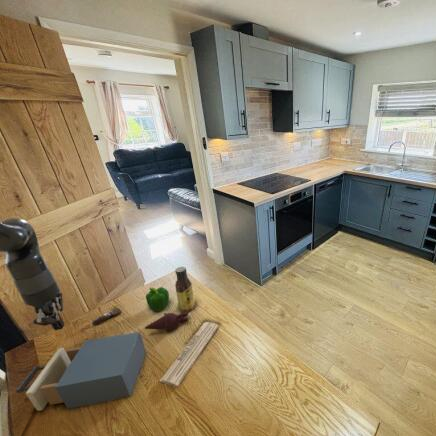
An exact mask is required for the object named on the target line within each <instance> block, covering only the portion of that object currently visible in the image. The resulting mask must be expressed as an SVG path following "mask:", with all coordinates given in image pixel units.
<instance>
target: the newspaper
mask: <svg viewBox="0 0 436 436" xmlns="http://www.w3.org/2000/svg"><path fill="white" fill-rule="evenodd" d="M202 324H203V325H202ZM202 324H201V325H202V326H201V325H200V327H199V328H198V329H199V330H198V329H197V330H196V332H195V333H194V335H193V336H192V337H191V338H190V339H189V341H188V342H187V343H186V345H185V346H184V348H183V349H182V350H181V351H180V353H179V354H178V356H176V358H175V359H174V360H173V362H172V363H171V365H170V366H169V367H168V368H167V370H166V371H165V372H164V373H163V375H162V377H160V379H159V380H158V382H159V383H163V384H166V385H168V386H171V387H175V388H178V387H179V386H180V384H181V383H182V381H183V380H184V378H185V377H186V376H187V373H189V371H190V370H191V368H192V367H193V365H194V364H195V362H196V360H198V358H199V356H200V355H201V353H202V352H203V351H204V349H205V347H206V346H207V345H208V343H209V341H210V340H211V338H212V337H213V335H214V334H215V333H216V331H217V330H218V328H219V324H217V323H214V322H211V321H205V322H203V323H202Z"/></svg>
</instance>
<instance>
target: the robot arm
mask: <svg viewBox="0 0 436 436" xmlns="http://www.w3.org/2000/svg"><path fill="white" fill-rule="evenodd" d="M37 237H38V236H37V233H36V231H35V229H34V227H33V226H32V225H31V224H30V223H29V222H28V221H27V220H25V219H21V218H17V217H10V218H4V219H3V220H1V221H0V253H5V254H6V255H5V256H6V257H5V261H4V265H5V268H6V270H7V272H8V274H9V275H10V277H11V279H12V281H13V284H14V287H15V288H16V290H17V292H18V293H19V295H20V297H21V298H22V300H23V302H24V304H25V305H27V306H31V307H33V308H34V312H35V314H37V318H35V319H34V320H33V324H34V325H38V326H45V327H46V326H48V325H49V326H50V325H51V327H52V329H53V330H54V331H59V330H63V328H64V327H65V325H66V324H65V322H64V320H63V317H62V312H63V310H64V303H63V302H64V301H63V293H62V292H61V289H60V288H59V285H58V283H57V281H56V279H55V276H54V275H53V273H52V271H51V269H49V267H48V265H47V263H46V261H45V259H44V257H43V256H42V254H41V251H40V245H39V241H38V238H37Z"/></svg>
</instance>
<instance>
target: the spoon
mask: <svg viewBox="0 0 436 436" xmlns="http://www.w3.org/2000/svg"><path fill="white" fill-rule="evenodd" d="M121 314H122V310H121V308H113V310H111V311H109V312H106V313H104V314H102V315H101V316H98V317H97V318H94V319H93V320H91V324H92V325H93V326H97V325H98V324H101V323H103V322H105V321H107V320H109V319H111V318H116V317H119V316H120V315H121Z"/></svg>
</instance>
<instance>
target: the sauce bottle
mask: <svg viewBox="0 0 436 436" xmlns="http://www.w3.org/2000/svg"><path fill="white" fill-rule="evenodd" d="M187 271H188V270H187V268H186V266H178V267H176V268H175V270H174V272H175V275H176V281H175V285H174V286H175V292H176V297H177V303H178V308H179V310H180V312H181V313H182V312H187V313H189V312H191V311H193V310H194V308H195V307H196V305H195V303H196V301H195V295H194V290H193V283H192V282H191V280H190V279H189V277H188V275H187Z"/></svg>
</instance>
